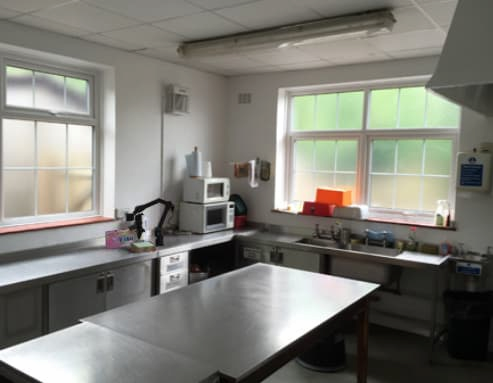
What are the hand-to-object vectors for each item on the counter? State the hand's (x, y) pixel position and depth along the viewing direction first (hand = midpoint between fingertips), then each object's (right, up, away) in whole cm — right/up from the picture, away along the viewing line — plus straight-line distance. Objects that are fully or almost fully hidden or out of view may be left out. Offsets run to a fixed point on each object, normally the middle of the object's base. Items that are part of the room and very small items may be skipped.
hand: (138, 239), depth 368 cm
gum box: (-16, -6, +3) cm, 18 cm away
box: (+6, -7, -11) cm, 14 cm away
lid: (+6, -3, -11) cm, 13 cm away
